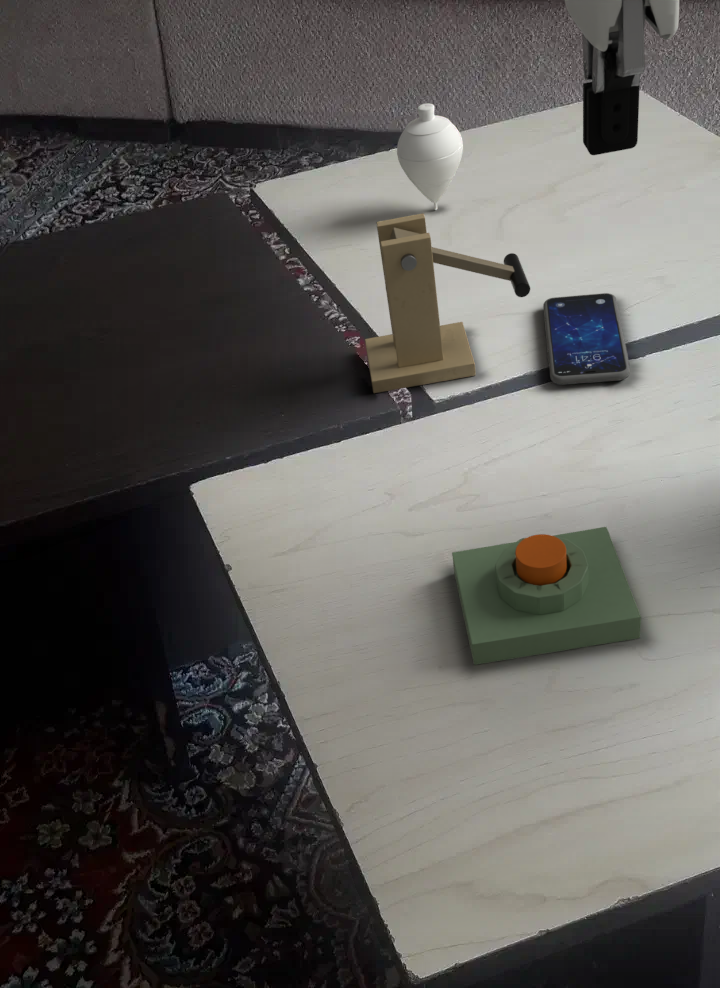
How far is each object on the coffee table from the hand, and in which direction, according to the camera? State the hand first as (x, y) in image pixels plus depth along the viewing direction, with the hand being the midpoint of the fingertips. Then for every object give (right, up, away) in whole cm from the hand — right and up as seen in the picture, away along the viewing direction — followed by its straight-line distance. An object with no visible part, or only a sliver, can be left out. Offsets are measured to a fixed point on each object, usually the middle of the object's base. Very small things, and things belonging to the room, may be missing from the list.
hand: (609, 146), depth 70 cm
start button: (-3, -27, +7) cm, 28 cm away
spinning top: (-7, +19, +58) cm, 62 cm away
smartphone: (+5, -4, +33) cm, 34 cm away
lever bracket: (-11, -5, +35) cm, 37 cm away
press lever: (-8, +2, +29) cm, 30 cm away
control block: (-3, -30, +10) cm, 32 cm away
